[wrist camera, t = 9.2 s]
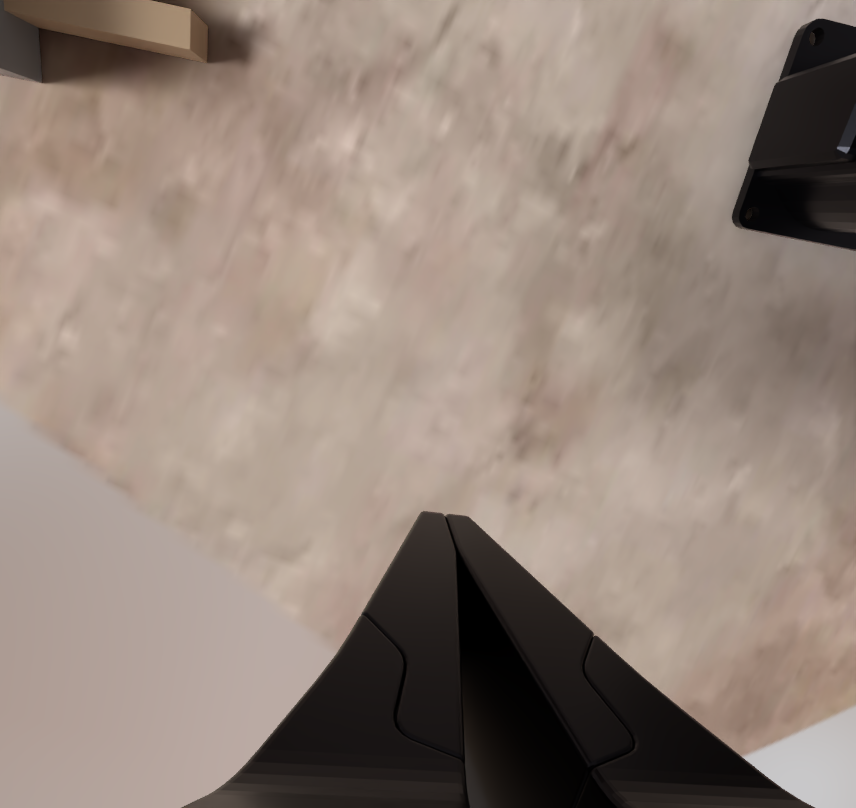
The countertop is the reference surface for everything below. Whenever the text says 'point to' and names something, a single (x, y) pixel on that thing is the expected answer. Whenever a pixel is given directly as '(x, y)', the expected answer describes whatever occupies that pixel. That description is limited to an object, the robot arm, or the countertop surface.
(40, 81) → the rack
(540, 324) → the countertop surface
